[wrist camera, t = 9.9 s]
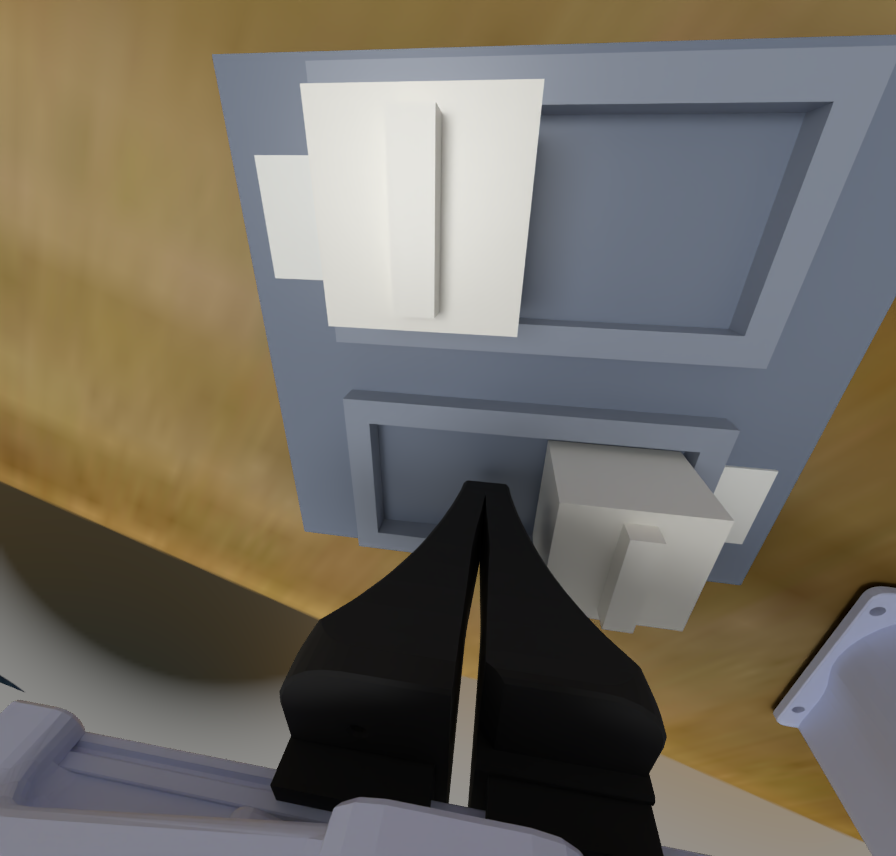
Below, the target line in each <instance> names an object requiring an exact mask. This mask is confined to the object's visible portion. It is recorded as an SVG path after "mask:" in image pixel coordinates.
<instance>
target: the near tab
mask: <svg viewBox="0 0 896 856" xmlns="http://www.w3.org/2000/svg"><path fill="white" fill-rule="evenodd" d="M544 80H545V79H506V80H453V81H400V82H346V83H300V90H301V99H302V107H303V115H304V124H305V132H306V141H307V149H308V158H309V166H310V174H311V183H312V191H313V200H314V208H315V216H316V225H317V233H318V242H319V250H320V259H321V267H322V275H323V284H324V292H325V301H326V309H327V318H328V326H334V327H351V328H368V329H385V330H403V331H420V332H437V333H455V334H472V335H489V336H506V337H517V333H518V324H519V314H520V305H521V295H522V286H523V277H524V267H525V258H526V249H527V239H528V230H529V221H530V211H531V202H532V192H533V183H534V174H535V164H536V155H537V146H538V136H539V127H540V117H541V108H542V99H543V89H544Z"/></svg>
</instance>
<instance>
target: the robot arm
mask: <svg viewBox="0 0 896 856" xmlns="http://www.w3.org/2000/svg"><path fill="white" fill-rule="evenodd" d="M479 561H480V619H481V633H480V653H479V667H478V681H477V694H476V708H475V721H474V722H475V723H474V734H473V749H472V761H471V775H470V787H469V801H468V807H463V806H458V805H453V804H449V793H450V784H451V774H452V764H453V753H454V743H455V732H456V723H457V713H458V704H459V693H460V684H461V674H462V664H463V654H464V645H465V637H466V630H467V624H468V619H469V614H470V608H471V603H472V598H473V593H474V588H475V582H476V577H477V572H478V567H479ZM280 702H281V705H282V708H283V711H284V714H285V717H286V720H287V724H288V727H289V730H290V733H291V738H290V740H289V742H288V745H287V747H286V749H285V752H284V754H283V756H282V759H281V761H280V763H279V766H278V768H277V769H271V768H267V767H262V766H256V765H252V764H246V763H241V762H236V761H231V760H226V759H221V758H216V757H211V756H206V755H201V754H196V753H191V752H186V751H181V750H176V749H171V748H166V747H161V746H156V745H151V744H145V743H141V742H136V741H131V740H125V739H120V738H115V737H110V736H105V735H100V734H95V733H90V732H85V728H84V726H83V725H82V723H81V721H80V720H79V719H78V718H77V717H76V716H75V715H74V714H73V713H71V712H69V711H67V710H65V709H62V708H58V707H54V706H49V705H43V704H38V703H33V702H27V701H23V700H17V701H13V702H12V703H11V704H10V705H8V706H7V707H6V708H5V709H4V710H3V711H2V712H1V713H0V856H710V855H705V854H700V853H695V852H690V851H685V850H680V849H675V848H670V847H665V846H661V843H660V839H659V835H658V831H657V827H656V823H655V819H654V814H653V810H652V806H653V805H654V804H655V795H654V791H653V787H652V783H651V779H650V775H649V773H650V770H651V769H652V767H653V765H654V763H655V762H656V760H657V758H658V756H659V755H660V753H661V751H662V750H663V748H664V745H665V741H666V738H667V737H666V733H665V729H664V725H663V721H662V717H661V714H660V711H659V709H658V706H657V703H656V701H655V699H654V696H653V694H652V692H651V690H650V687H649V685H648V683H647V681H646V679H645V676H644V674H643V672H642V670H641V668H640V667H639V666H638V665H637V664H636V663H635V662H634V661H633V660H632V659H631V658H629V657H628V656H627V655H626V654H625V653H624V652H623V651H622V650H621V649H619V648H618V647H617V646H616V645H615V644H614V643H613V642H612V641H611V640H610V639H608V638H607V637H606V636H605V635H604V634H603V633H602V632H601V631H600V630H599V629H598V628H597V627H596V626H595V625H594V624H593V623H592V621H591V620H590V619H589V618H588V617H587V616H586V615H585V614H584V612H583V611H582V610H581V609H580V608H579V607H578V606H577V604H576V603H575V602H574V601H573V600H572V599H571V597H570V596H569V595H568V594H567V593H566V592H565V590H564V589H563V588H562V586H561V585H560V584H559V582H558V581H557V580H556V578H555V577H554V576H553V574H552V573H551V571H550V570H549V568H548V567H547V566H546V564H545V563H544V561H543V560H542V558H541V556H540V555H539V553H538V551H537V550H536V548H535V546H534V545H533V543H532V541H531V539H530V537H529V536H528V534H527V532H526V530H525V528H524V526H523V524H522V522H521V520H520V517H519V515H518V513H517V510H516V508H515V505H514V503H513V500H512V497H511V494H510V490H509V487H508V486H507V485H506V484H500V483H490V482H487V483H486V482H480V481H470V480H467V481H466V482H464V483H463V486H462V488H461V490H460V492H459V494H458V496H457V497H456V499H455V501H454V502H453V504H452V505H451V507H450V508H449V510H448V511H447V512H446V514H445V515H444V517H443V518H442V519H441V521H440V522H439V523H438V525H437V526H436V527H435V528H434V529H433V531H432V532H431V533H430V534H429V535H428V537H427V538H426V539H425V540H424V541H423V542H422V543H421V544H420V545H419V546H418V547H417V549H416V550H414V551H413V552H412V553H411V554H410V555H409V556H408V557H407V558H406V559H405V560H404V561H403V562H402V563H401V564H400V565H398V566H397V567H396V568H395V569H394V570H393V571H392V572H390V573H389V574H388V575H387V576H385V577H384V578H383V579H382V580H380V581H379V582H377V583H376V584H375V585H373V586H372V587H371V588H369V589H368V590H366V591H365V592H364V593H362V594H361V595H360V596H358V597H357V598H355V599H354V600H352V601H350V602H349V603H347V604H346V605H344V606H342V607H341V608H339V609H337V610H336V611H334V612H332V613H331V614H329V615H327V616H326V617H324V618H322V619H320V620H319V621H318V623H317V624H316V626H315V627H314V629H313V630H312V631H311V633H310V634H309V636H308V638H307V639H306V641H305V642H304V644H303V646H302V647H301V649H300V651H299V652H298V654H297V656H296V658H295V660H294V662H293V664H292V666H291V668H290V670H289V672H288V674H287V676H286V679H285V681H284V682H283V685H282V687H281V690H280ZM773 715H774V717H775V718H776V720H777V722H778V723H779V724H781V725H784V726H790V727H796V728H798V729H799V730H800V732H801V734H802V735H803V737H804V739H805V741H806V742H807V744H808V746H809V747H810V749H811V751H812V753H813V754H814V756H815V758H816V760H817V761H818V763H819V765H820V766H821V768H822V770H823V772H824V773H825V775H826V777H827V778H828V780H829V782H830V784H831V785H832V787H833V789H834V791H835V792H836V794H837V796H838V797H839V799H840V801H841V803H842V804H843V806H844V808H845V809H846V811H847V813H848V815H849V816H850V818H851V820H852V822H853V823H854V825H855V827H856V828H857V830H858V832H859V834H860V835H861V837H862V839H863V840H864V842H865V844H866V845H867V847H868V849H869V851H870V852H871V854H872V856H896V588H892V587H884V586H876V587H872V588H869V589H867V590H866V591H865V592H863V594H862V595H861V596H860V598H859V599H858V600H857V602H856V603H855V604H854V606H853V607H852V608H851V610H850V611H849V612H848V614H847V615H846V616H845V617H844V619H843V620H842V621H841V623H840V624H839V625H838V627H837V628H836V629H835V631H834V632H833V633H832V635H831V636H830V637H829V639H828V640H827V641H826V643H825V644H824V645H823V647H822V648H821V649H820V651H819V652H818V653H817V654H816V656H815V657H814V658H813V660H812V661H811V662H810V664H809V665H808V666H807V668H806V669H805V670H804V672H803V673H802V674H801V676H800V677H799V678H798V680H797V681H796V682H795V684H794V685H793V686H792V688H791V689H790V690H789V692H788V693H787V694H786V695H785V697H784V698H783V699H782V701H781V702H780V703H779V705H778V706H777V707H776V709H775V710H774V712H773Z"/></svg>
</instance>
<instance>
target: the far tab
mask: <svg viewBox="0 0 896 856" xmlns="http://www.w3.org/2000/svg"><path fill="white" fill-rule="evenodd" d="M733 524H734V520H733V518H732V517H731V516H730V515H729V513H728V512H727V511H726V509H725V508H724V507H723V506H722V504H721V503H720V502H719V500H718V499H717V498H716V497H715V495H714V494H713V493H712V491H711V490H710V489H709V488H708V486H707V485H706V484H705V482H704V481H703V480H702V479H701V477H700V476H699V475H698V473H697V472H696V471H695V469H694V468H693V467H692V466H691V464H690V463H689V462H688V460H687V459H686V458H685V457H684V455H683V454H682V453H681V452H677V451H666V450H654V449H643V448H631V447H620V446H609V445H597V444H586V443H574V442H563V441H552V440H548V444H547V450H546V456H545V462H544V468H543V475H542V481H541V487H540V493H539V499H538V505H537V511H536V517H535V523H534V529H533V545H534V546H535V548H536V550H537V551H538V553H539V555H540V556H541V558H542V560H543V561H544V563H545V564H546V566H547V567H548V568H549V570H550V571H551V573H552V574H553V576H554V577H555V578H556V580H557V581H558V582H559V584H560V585H561V586H562V588H563V589H564V590H565V592H566V593H567V594H568V595H569V596H570V597H571V599H572V600H573V601H574V602H575V603H576V604H577V606H578V607H579V608H580V609H581V610H582V611H583V612H584V614H585V615H586V616H587V617H588V618H590V619H598V620H600V624H601V628H602V629H605V630H612V631H619V632H626V633H633V631H634V629H635V626H636V625H641V626H648V627H655V628H663V629H670V630H677V631H683V629H684V627H685V625H686V623H687V621H688V619H689V616H690V614H691V612H692V610H693V608H694V606H695V604H696V602H697V600H698V597H699V595H700V593H701V591H702V589H703V587H704V585H705V583H706V581H707V578H708V576H709V574H710V572H711V570H712V568H713V566H714V564H715V562H716V559H717V557H718V555H719V553H720V551H721V549H722V547H723V545H724V543H725V540H726V538H727V536H728V534H729V532H730V530H731V528H732V526H733Z"/></svg>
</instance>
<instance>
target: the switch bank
mask: <svg viewBox="0 0 896 856" xmlns="http://www.w3.org/2000/svg"><path fill="white" fill-rule="evenodd" d="M212 57H213V63H214V68H215V73H216V78H217V83H218V88H219V93H220V99H221V104H222V109H223V114H224V119H225V124H226V129H227V135H228V140H229V145H230V150H231V155H232V160H233V165H234V170H235V176H236V181H237V186H238V191H239V196H240V201H241V206H242V212H243V217H244V222H245V227H246V232H247V237H248V242H249V248H250V253H251V258H252V263H253V268H254V273H255V278H256V284H257V289H258V294H259V299H260V304H261V309H262V314H263V320H264V325H265V330H266V335H267V340H268V345H269V350H270V356H271V361H272V366H273V371H274V376H275V381H276V386H277V392H278V397H279V402H280V407H281V412H282V417H283V422H284V428H285V433H286V438H287V443H288V448H289V453H290V458H291V464H292V469H293V474H294V479H295V484H296V489H297V494H298V500H299V505H300V510H301V515H302V520H303V525H304V530H305V531H306V532H314V533H322V534H330V535H338V536H346V537H354V538H358V540H359V546H364V547H372V548H380V549H388V550H396V551H404V552H413V551H414V550H416V549H417V547H418V546H419V545H420V544H421V543H422V542H423V541H424V540H425V539H426V538H427V537H428V535H429V534H430V533H431V532H432V531H433V529H434V528H435V527H436V526H437V525H438V523H439V522H440V521H441V519H442V518H443V517H444V515H445V514H446V512H447V511H448V510H449V508H450V507H451V505H452V504H453V502H454V501H455V499H456V497H457V496H458V494H459V492H460V490H461V488H462V486H463V483H464V482H466V481H467V480H470V481H480V482H486V483H487V482H490V483H500V484H506V485H507V486H508V487H509V490H510V494H511V497H512V500H513V503H514V505H515V508H516V510H517V513H518V515H519V517H520V520H521V522H522V524H523V526H524V528H525V530H526V532H527V534H528V536H529V537H530V539H531V541H532V543H533V529H534V523H535V517H536V511H537V505H538V499H539V493H540V487H541V481H542V475H543V468H544V462H545V456H546V450H547V444H548V440H552V441H563V442H574V443H586V444H597V445H609V446H620V447H631V448H643V449H654V450H666V451H677V452H681V453H682V454H683V455H684V457H685V458H686V459H687V460H688V462H689V463H690V464H691V466H692V467H693V468H694V469H695V471H696V472H697V473H698V475H699V476H700V477H701V479H702V480H703V481H704V482H705V484H706V485H707V486H708V488H709V489H710V490H711V491H712V493H713V494H714V495H715V497H716V498H717V499H718V500H719V502H720V503H721V504H722V506H723V507H724V508H725V509H726V511H727V512H728V513H729V515H730V516H731V517H732V518H733V520H734V524H733V526H732V528H731V530H730V532H729V534H728V536H727V538H726V540H725V543H724V545H723V547H722V549H721V551H720V553H719V555H718V557H717V559H716V562H715V564H714V566H713V568H712V570H711V572H710V574H709V576H708V578H707V581H711V582H719V583H727V584H735V585H741V584H742V582H743V580H744V578H745V576H746V574H747V572H748V571H749V569H750V567H751V565H752V563H753V561H754V559H755V557H756V556H757V554H758V552H759V550H760V548H761V546H762V544H763V543H764V541H765V539H766V537H767V535H768V533H769V531H770V530H771V528H772V526H773V524H774V522H775V520H776V518H777V516H778V515H779V513H780V511H781V509H782V507H783V505H784V503H785V502H786V500H787V498H788V496H789V494H790V492H791V490H792V488H793V487H794V485H795V483H796V481H797V479H798V477H799V475H800V474H801V472H802V470H803V468H804V466H805V464H806V462H807V461H808V459H809V457H810V455H811V453H812V451H813V449H814V447H815V446H816V444H817V442H818V440H819V438H820V436H821V434H822V433H823V431H824V429H825V427H826V425H827V423H828V421H829V419H830V418H831V416H832V414H833V412H834V410H835V408H836V406H837V405H838V403H839V401H840V399H841V397H842V395H843V393H844V392H845V390H846V388H847V386H848V384H849V382H850V380H851V378H852V377H853V375H854V373H855V371H856V369H857V367H858V365H859V364H860V362H861V360H862V358H863V356H864V354H865V352H866V350H867V349H868V347H869V345H870V343H871V341H872V339H873V337H874V336H875V334H876V332H877V330H878V328H879V326H880V324H881V322H882V321H883V319H884V317H885V315H886V313H887V311H888V309H889V308H890V306H891V304H892V302H893V300H894V298H895V296H896V35H869V36H834V37H800V38H765V39H730V40H695V41H661V42H626V43H591V44H556V45H522V46H487V47H452V48H417V49H383V50H348V51H313V52H278V53H244V54H212ZM506 79H545V80H544V89H543V99H542V108H541V117H540V127H539V136H538V146H537V155H536V164H535V174H534V183H533V192H532V202H531V211H530V221H529V230H528V239H527V249H526V258H525V267H524V277H523V286H522V295H521V305H520V314H519V324H518V333H517V337H506V336H489V335H472V334H455V333H437V332H420V331H403V330H385V329H368V328H351V327H334V326H328V318H327V309H326V301H325V292H324V284H323V275H322V267H321V259H320V250H319V242H318V233H317V225H316V216H315V208H314V200H313V191H312V183H311V174H310V166H309V158H308V149H307V141H306V132H305V124H304V115H303V107H302V99H301V90H300V83H346V82H400V81H453V80H506Z"/></svg>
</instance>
